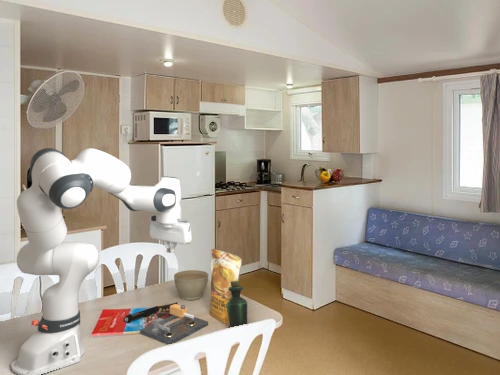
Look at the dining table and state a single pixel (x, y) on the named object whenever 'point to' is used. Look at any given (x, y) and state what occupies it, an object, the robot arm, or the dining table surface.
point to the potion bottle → (236, 306)
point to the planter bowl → (191, 283)
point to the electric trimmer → (140, 314)
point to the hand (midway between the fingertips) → (170, 252)
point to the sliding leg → (180, 311)
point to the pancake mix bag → (222, 282)
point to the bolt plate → (173, 328)
